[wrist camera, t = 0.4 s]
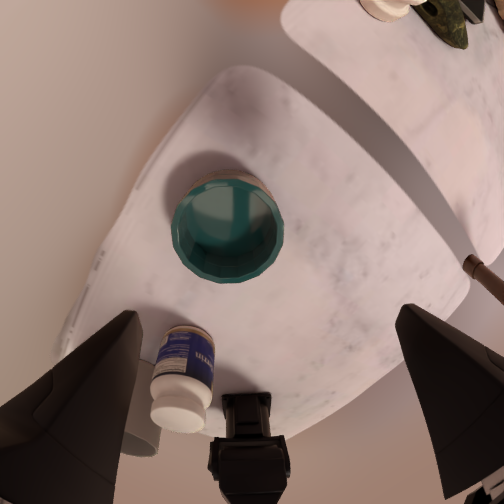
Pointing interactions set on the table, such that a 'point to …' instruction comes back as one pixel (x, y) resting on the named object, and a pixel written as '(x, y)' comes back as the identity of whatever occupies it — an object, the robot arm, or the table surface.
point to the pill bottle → (183, 380)
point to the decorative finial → (389, 8)
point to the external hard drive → (473, 10)
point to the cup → (141, 417)
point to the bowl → (227, 227)
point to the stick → (484, 276)
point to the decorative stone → (445, 20)
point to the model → (500, 7)
